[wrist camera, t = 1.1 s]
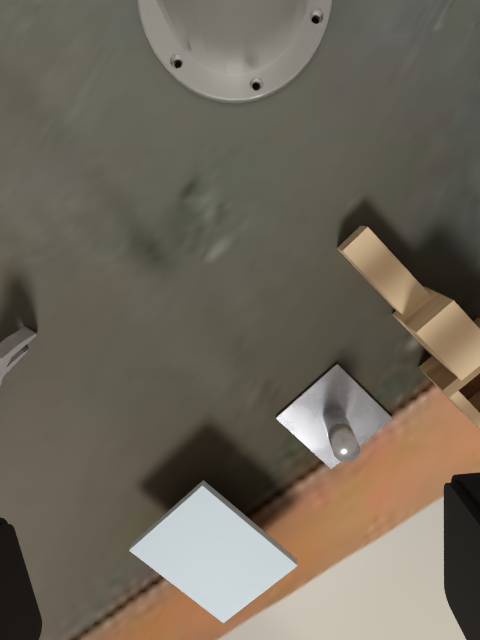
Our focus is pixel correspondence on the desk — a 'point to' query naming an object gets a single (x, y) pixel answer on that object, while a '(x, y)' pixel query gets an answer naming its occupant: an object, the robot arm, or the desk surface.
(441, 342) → the link
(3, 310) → the desk surface
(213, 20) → the robot arm
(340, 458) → the pintle
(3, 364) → the caliper
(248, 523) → the plate
